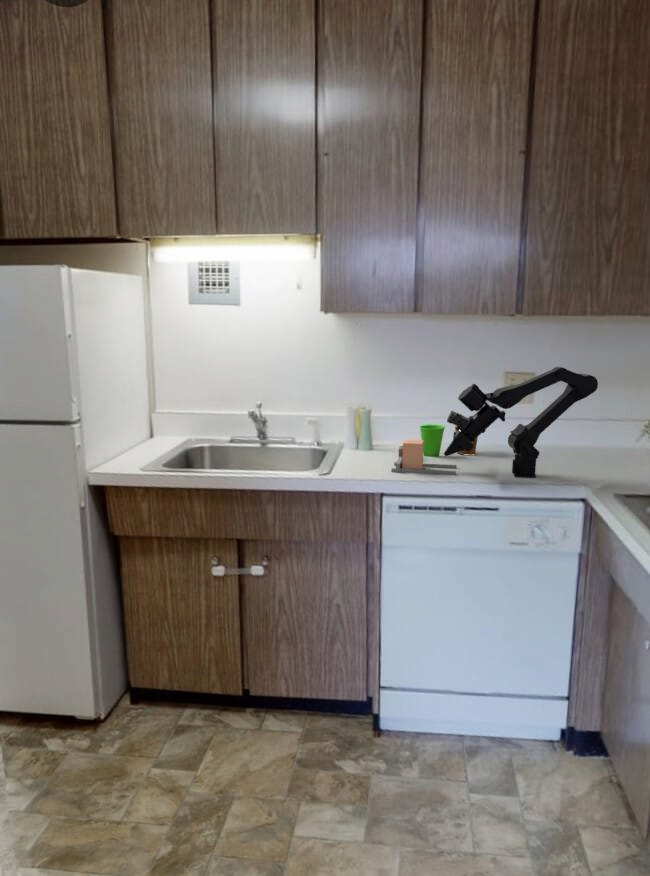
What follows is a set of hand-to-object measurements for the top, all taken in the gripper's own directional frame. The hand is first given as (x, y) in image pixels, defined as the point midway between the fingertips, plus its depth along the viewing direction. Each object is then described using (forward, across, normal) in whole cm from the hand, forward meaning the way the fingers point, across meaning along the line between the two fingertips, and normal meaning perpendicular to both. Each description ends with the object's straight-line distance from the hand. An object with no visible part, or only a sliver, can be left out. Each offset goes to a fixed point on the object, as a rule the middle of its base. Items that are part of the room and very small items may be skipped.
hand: (444, 455), depth 211 cm
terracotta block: (+10, 0, -4) cm, 11 cm away
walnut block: (+14, -15, -5) cm, 21 cm away
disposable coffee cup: (0, -32, +9) cm, 33 cm away
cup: (+8, -23, 0) cm, 24 cm away
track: (+9, 0, 0) cm, 9 cm away
